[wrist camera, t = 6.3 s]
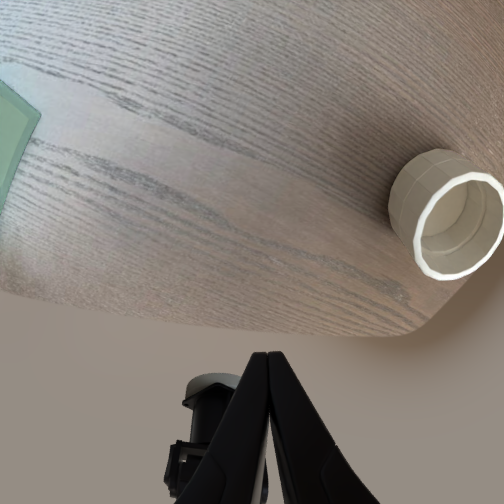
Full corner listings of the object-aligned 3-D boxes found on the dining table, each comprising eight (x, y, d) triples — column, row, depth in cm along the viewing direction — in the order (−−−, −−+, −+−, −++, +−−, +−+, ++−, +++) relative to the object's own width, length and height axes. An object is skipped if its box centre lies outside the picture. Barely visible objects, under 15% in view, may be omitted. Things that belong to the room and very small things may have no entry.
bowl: (415, 257, 21) (440, 298, 18) (364, 193, 19) (391, 230, 15) (482, 200, 19) (518, 232, 15) (443, 124, 16) (486, 146, 12)
